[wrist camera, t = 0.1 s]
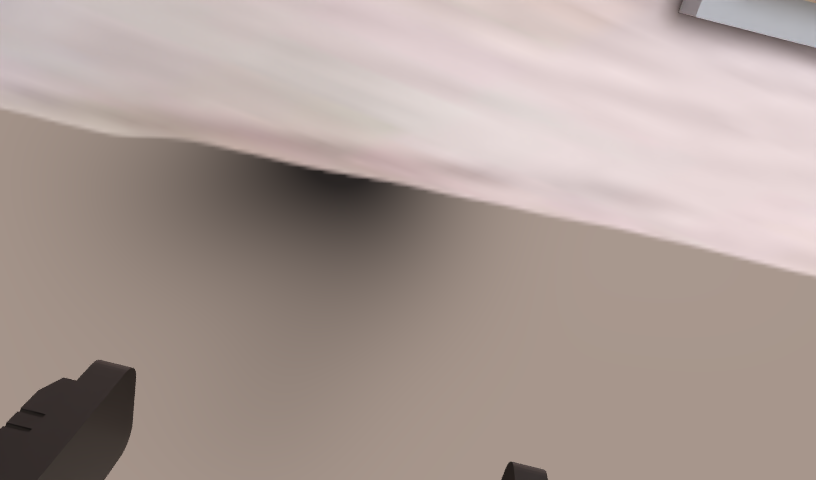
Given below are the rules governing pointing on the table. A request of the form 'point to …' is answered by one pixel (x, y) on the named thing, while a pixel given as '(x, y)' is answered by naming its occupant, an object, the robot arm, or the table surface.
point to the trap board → (760, 16)
